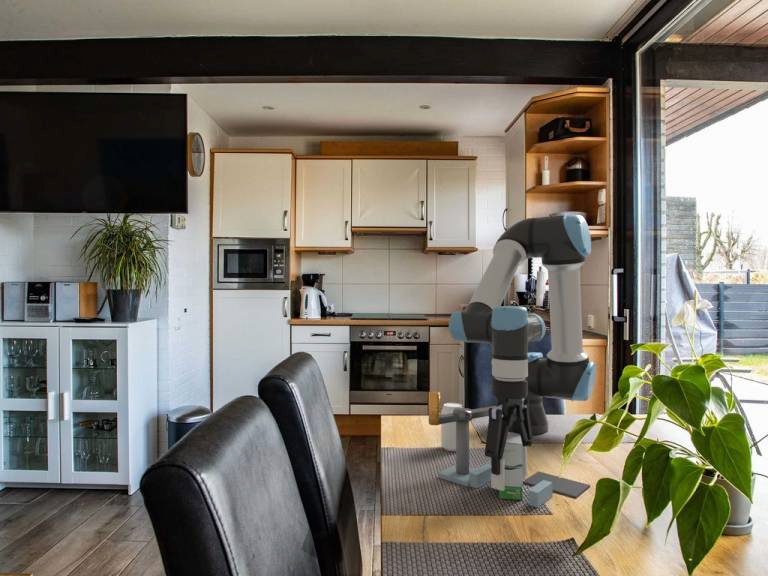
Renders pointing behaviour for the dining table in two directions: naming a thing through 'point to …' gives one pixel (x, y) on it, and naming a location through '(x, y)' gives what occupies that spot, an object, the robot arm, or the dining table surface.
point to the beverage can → (449, 428)
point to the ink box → (512, 467)
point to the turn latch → (457, 414)
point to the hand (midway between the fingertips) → (509, 481)
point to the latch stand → (484, 470)
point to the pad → (559, 484)
